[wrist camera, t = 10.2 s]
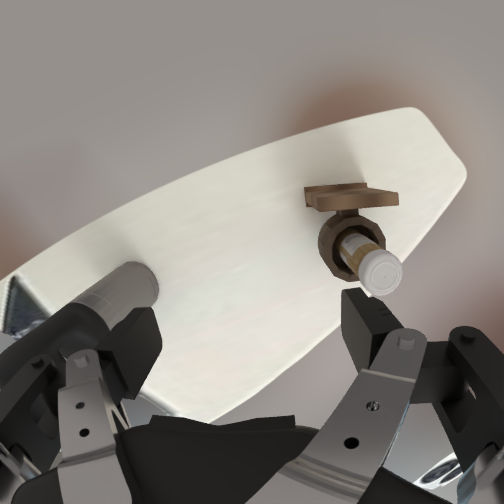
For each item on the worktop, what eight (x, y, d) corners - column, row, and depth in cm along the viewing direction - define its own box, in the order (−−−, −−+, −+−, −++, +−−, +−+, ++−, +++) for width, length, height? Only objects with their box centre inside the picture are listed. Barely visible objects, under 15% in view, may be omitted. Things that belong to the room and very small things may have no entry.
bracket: (311, 264, 44) (324, 295, 33) (304, 187, 41) (318, 192, 30) (368, 257, 44) (398, 284, 32) (365, 182, 40) (397, 186, 29)
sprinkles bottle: (333, 259, 39) (362, 299, 26) (333, 228, 38) (364, 256, 25) (363, 256, 39) (402, 294, 26) (363, 226, 37) (405, 252, 24)
